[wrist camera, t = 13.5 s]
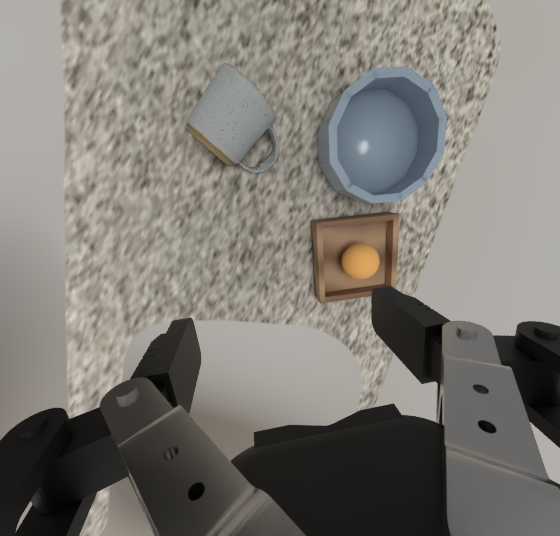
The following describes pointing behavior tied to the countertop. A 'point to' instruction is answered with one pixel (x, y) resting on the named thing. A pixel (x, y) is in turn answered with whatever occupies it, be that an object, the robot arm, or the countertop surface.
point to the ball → (360, 261)
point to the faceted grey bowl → (382, 136)
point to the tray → (342, 234)
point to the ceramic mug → (233, 118)
